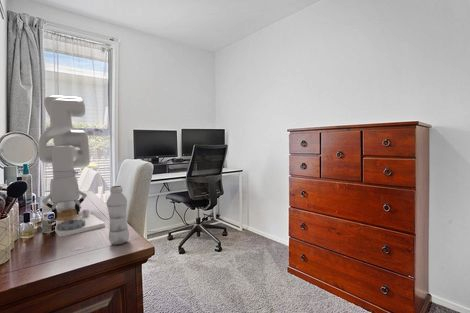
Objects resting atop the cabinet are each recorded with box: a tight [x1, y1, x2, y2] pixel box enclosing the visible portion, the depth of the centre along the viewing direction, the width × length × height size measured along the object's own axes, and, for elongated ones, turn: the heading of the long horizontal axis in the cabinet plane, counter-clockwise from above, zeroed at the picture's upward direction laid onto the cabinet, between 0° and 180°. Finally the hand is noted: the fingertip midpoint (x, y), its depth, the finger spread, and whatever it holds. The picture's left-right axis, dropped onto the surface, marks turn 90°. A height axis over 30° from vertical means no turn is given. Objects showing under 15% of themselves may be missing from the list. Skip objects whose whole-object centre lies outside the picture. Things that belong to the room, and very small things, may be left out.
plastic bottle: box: [106, 185, 130, 245], centre depth 89 cm, size 6×7×20 cm
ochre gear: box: [55, 209, 78, 221], centre depth 110 cm, size 7×7×3 cm
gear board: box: [54, 209, 106, 238], centre depth 110 cm, size 20×16×4 cm
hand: (66, 215), depth 110 cm, fingers closed on ochre gear, 7 cm apart
